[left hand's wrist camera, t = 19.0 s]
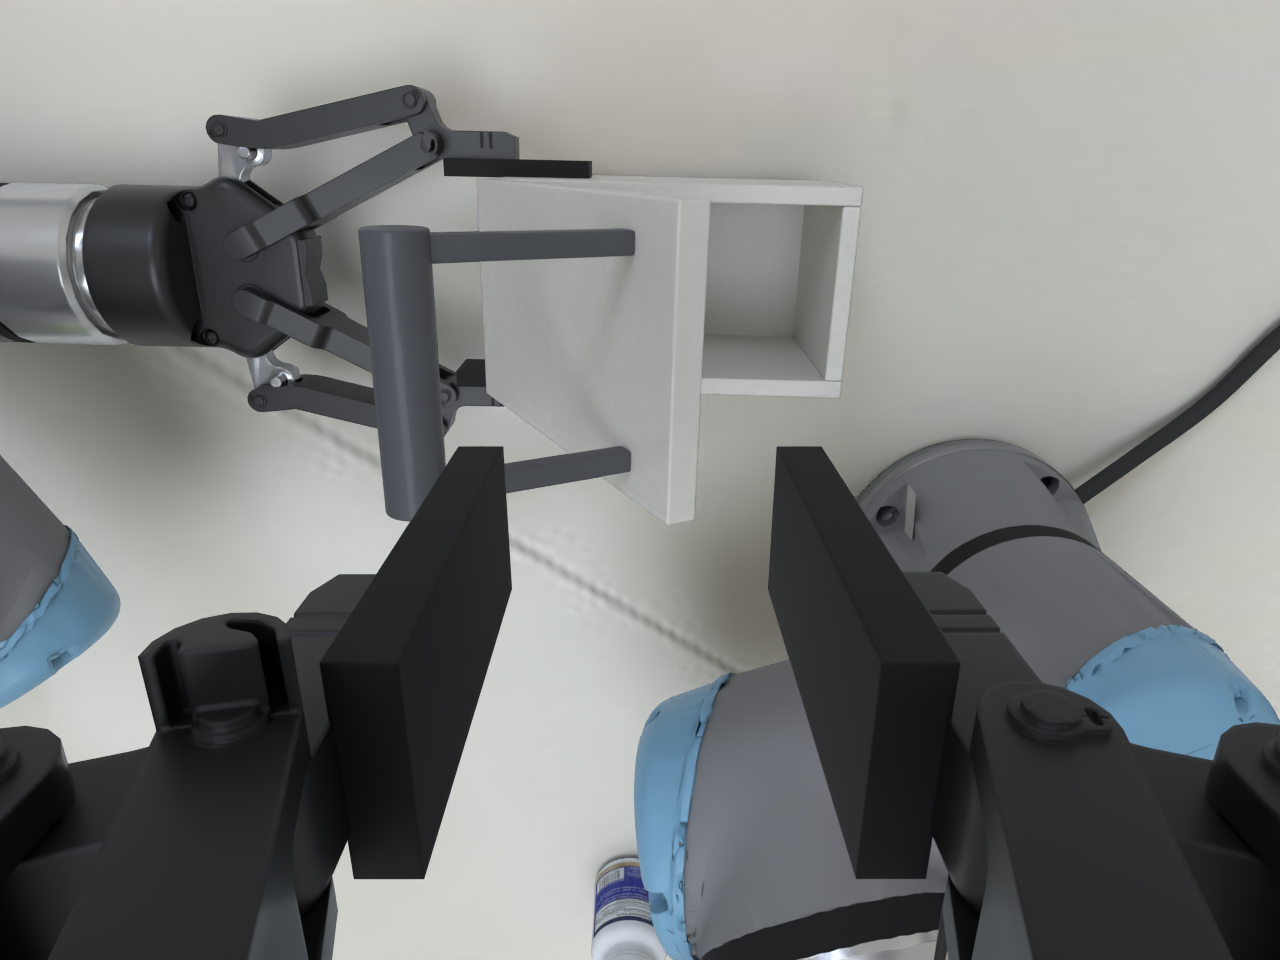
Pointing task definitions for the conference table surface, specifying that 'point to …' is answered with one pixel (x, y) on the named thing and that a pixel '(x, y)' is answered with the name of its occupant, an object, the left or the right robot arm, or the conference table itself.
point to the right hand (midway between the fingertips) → (590, 276)
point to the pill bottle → (623, 915)
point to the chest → (768, 279)
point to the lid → (552, 338)
